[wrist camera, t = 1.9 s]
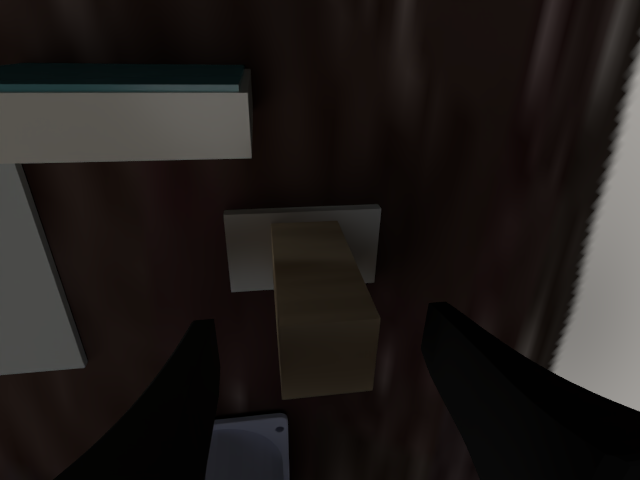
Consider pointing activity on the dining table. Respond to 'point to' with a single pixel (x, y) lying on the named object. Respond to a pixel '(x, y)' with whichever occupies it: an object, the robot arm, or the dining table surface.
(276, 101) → the dining table surface
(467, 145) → the dining table surface
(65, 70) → the tile
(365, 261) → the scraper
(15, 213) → the mat
